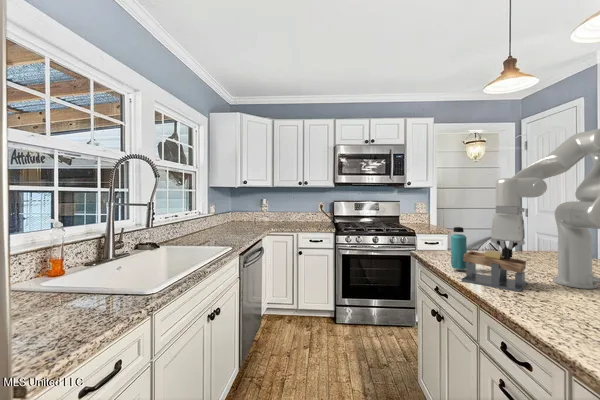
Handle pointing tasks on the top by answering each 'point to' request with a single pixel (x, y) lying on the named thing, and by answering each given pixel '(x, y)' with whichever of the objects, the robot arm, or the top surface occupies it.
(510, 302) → the top surface
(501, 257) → the brass block
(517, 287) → the beam stand
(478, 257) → the beam
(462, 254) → the beverage bottle
